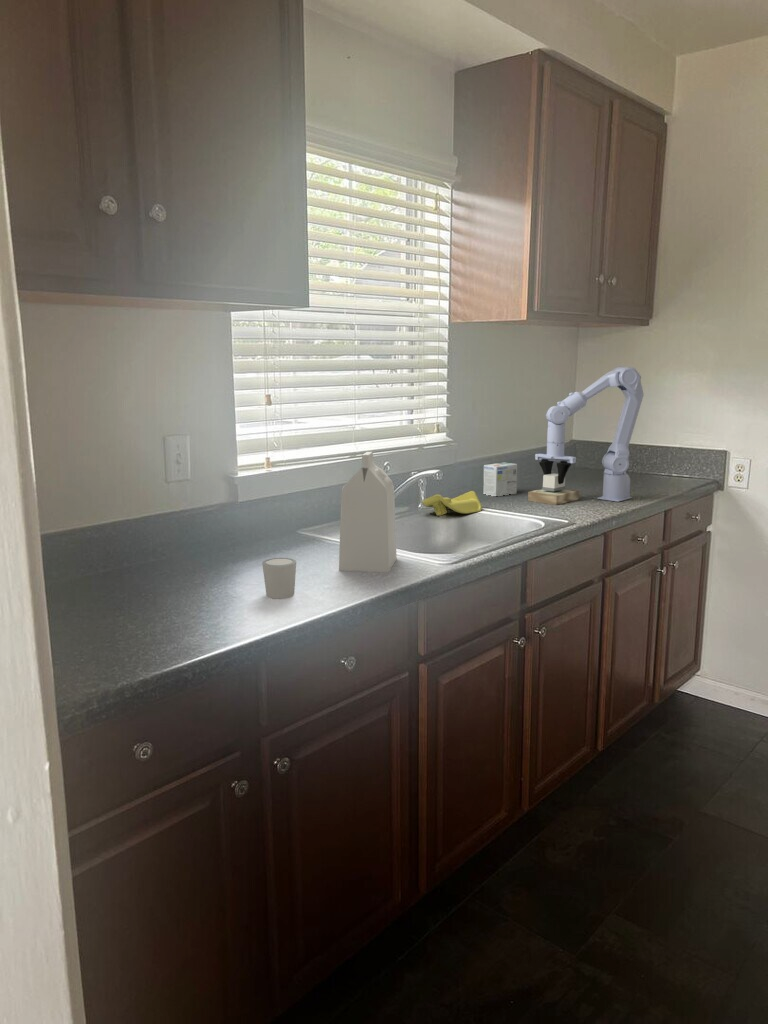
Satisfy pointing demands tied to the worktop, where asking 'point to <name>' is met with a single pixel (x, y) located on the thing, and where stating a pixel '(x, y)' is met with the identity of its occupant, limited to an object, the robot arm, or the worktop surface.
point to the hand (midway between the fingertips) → (554, 482)
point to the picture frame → (553, 496)
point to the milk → (368, 520)
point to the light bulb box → (500, 479)
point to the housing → (552, 482)
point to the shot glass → (279, 577)
